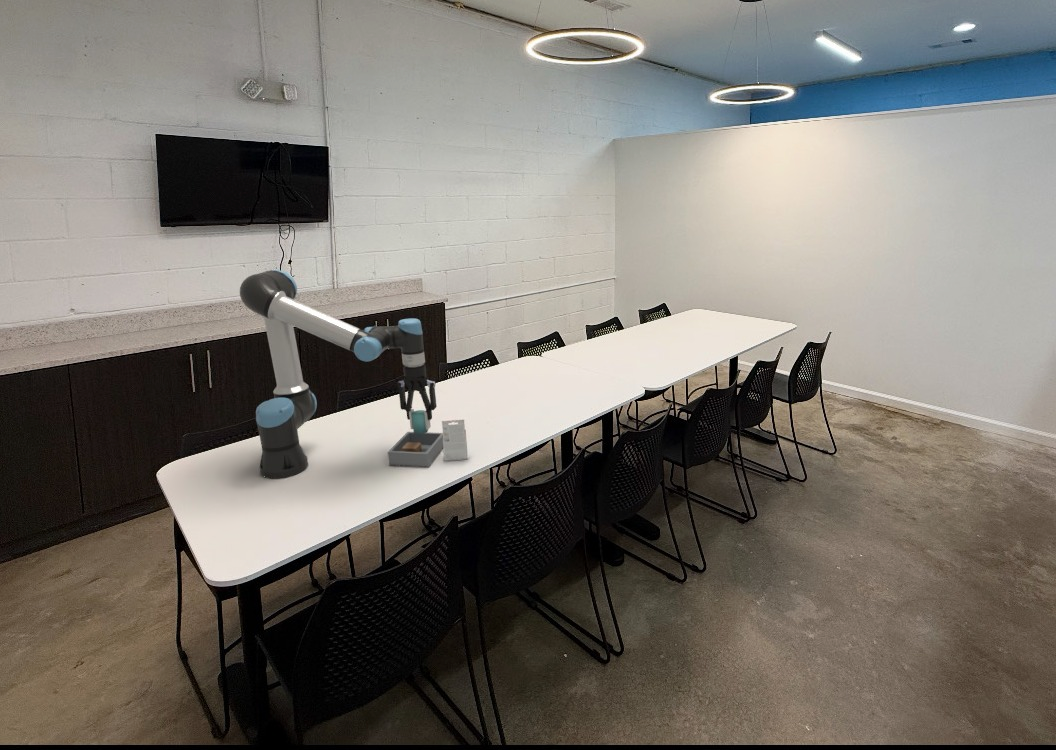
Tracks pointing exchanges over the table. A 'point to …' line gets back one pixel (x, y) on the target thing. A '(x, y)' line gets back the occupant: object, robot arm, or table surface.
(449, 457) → the ink box
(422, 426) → the cylinder
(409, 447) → the cube
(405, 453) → the tote
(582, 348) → the table surface
